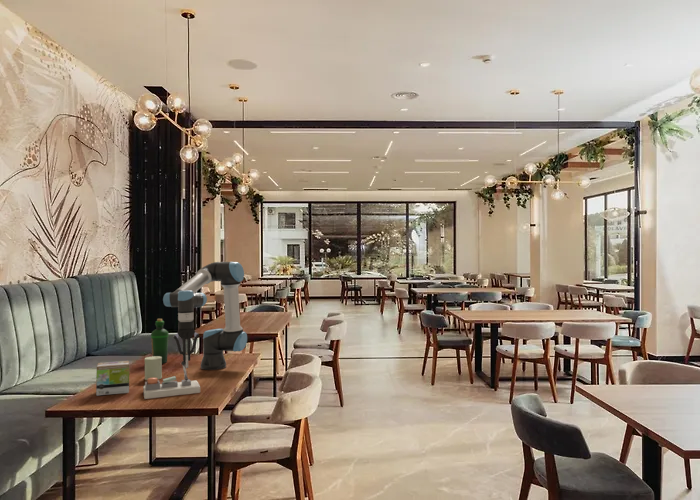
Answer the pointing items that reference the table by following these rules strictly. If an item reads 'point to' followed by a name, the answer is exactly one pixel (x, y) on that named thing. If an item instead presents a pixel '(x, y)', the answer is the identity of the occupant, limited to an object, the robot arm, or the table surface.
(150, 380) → the push button
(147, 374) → the can
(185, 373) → the toggle lever
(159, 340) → the bottle
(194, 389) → the switch panel
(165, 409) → the table surface
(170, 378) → the rocker switch
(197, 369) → the table surface
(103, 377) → the tea box
